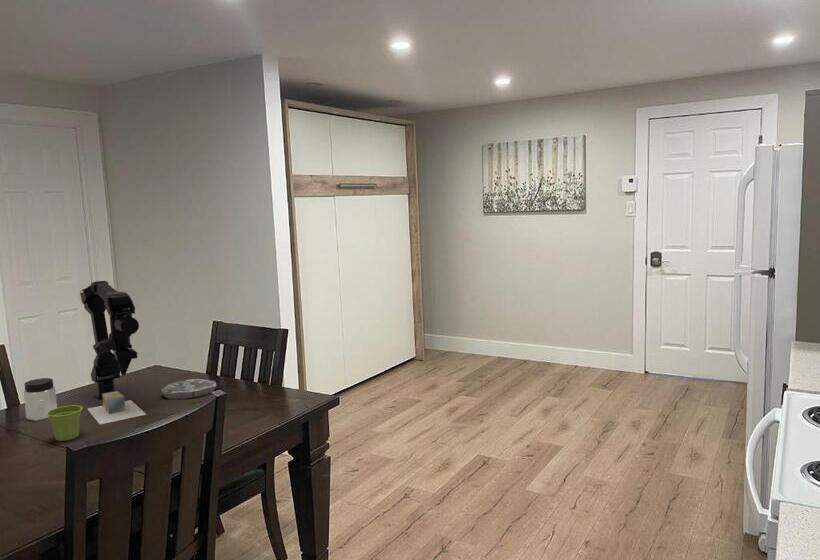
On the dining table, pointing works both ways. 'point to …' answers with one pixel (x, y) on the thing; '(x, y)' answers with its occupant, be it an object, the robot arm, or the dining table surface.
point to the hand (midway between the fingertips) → (123, 374)
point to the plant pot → (65, 422)
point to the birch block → (113, 402)
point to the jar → (39, 398)
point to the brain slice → (188, 389)
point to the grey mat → (104, 417)
